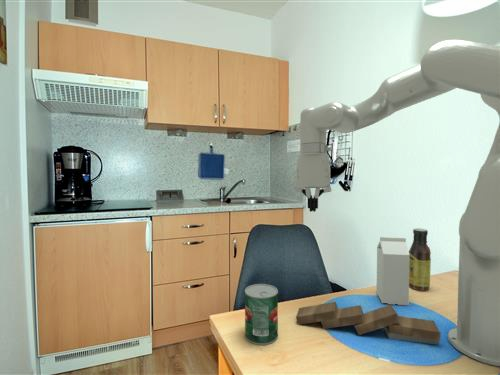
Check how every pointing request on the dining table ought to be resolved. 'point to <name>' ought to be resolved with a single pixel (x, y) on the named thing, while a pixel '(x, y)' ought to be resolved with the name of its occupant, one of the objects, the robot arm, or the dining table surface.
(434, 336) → the walnut domino
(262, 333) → the canned tomato
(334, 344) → the dining table surface
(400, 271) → the milk carton
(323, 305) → the walnut domino
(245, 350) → the dining table surface
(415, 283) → the sauce bottle
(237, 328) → the dining table surface
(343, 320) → the walnut domino
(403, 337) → the charcoal domino
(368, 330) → the walnut domino
